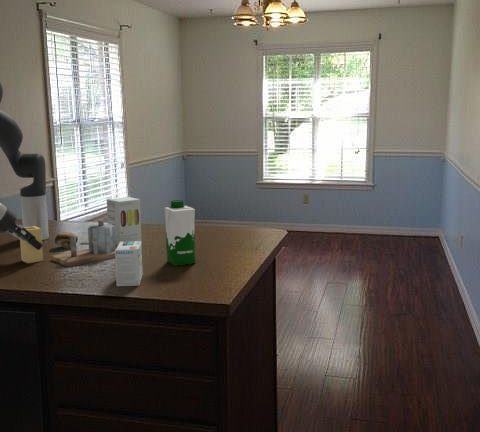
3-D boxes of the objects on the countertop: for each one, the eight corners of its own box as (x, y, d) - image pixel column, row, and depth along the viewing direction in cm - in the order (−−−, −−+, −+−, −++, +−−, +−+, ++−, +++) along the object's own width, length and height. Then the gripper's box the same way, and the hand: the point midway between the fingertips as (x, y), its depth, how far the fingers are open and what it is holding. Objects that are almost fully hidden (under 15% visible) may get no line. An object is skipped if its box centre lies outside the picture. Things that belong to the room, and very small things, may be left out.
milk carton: (188, 257, 191) (186, 199, 187) (199, 264, 183) (197, 202, 179) (163, 261, 187) (161, 201, 183) (173, 267, 179) (171, 204, 175)
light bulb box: (120, 276, 170) (118, 241, 168) (143, 275, 171) (141, 240, 169) (115, 286, 160) (114, 249, 158) (140, 286, 160) (138, 248, 158)
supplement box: (119, 247, 207) (117, 201, 204) (107, 243, 214) (105, 198, 211) (142, 243, 213) (140, 198, 210) (129, 239, 220) (127, 196, 217)
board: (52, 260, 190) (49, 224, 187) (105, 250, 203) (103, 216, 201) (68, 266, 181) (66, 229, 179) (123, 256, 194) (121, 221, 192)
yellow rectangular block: (21, 260, 189) (19, 228, 187) (36, 257, 193) (34, 226, 191) (27, 263, 185) (25, 230, 184) (43, 260, 189) (40, 228, 187)
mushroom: (69, 242, 201) (67, 226, 204) (50, 249, 203) (49, 234, 206) (83, 248, 208) (81, 233, 211) (65, 255, 210) (63, 240, 213)
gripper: (13, 208, 176) (53, 240, 186) (-4, 203, 186) (35, 234, 196) (-3, 227, 173) (38, 259, 183) (-19, 221, 183) (21, 251, 193)
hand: (36, 246), depth 189 cm, fingers closed on yellow rectangular block, 5 cm apart
